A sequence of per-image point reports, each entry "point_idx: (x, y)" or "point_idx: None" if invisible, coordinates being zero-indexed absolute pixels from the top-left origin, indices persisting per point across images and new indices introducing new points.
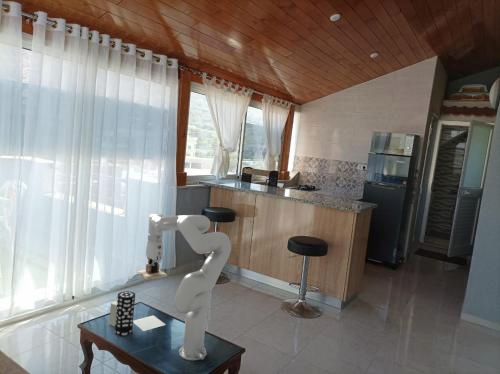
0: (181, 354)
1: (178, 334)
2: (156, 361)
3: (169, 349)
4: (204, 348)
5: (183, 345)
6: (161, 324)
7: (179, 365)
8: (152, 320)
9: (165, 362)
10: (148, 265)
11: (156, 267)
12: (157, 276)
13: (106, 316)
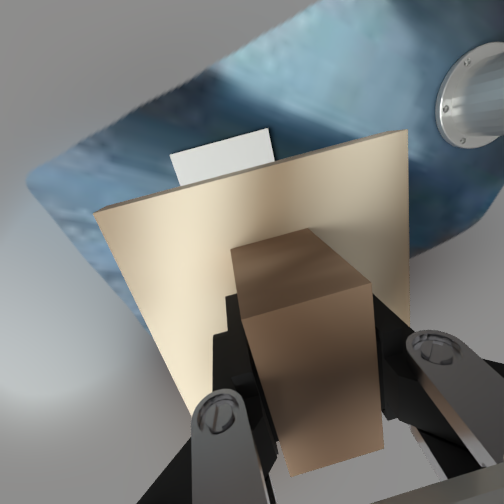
0: (478, 145)
1: (348, 100)
2: (447, 220)
3: (417, 167)
4: (498, 44)
5: (492, 135)
6: (260, 145)
7: (498, 165)
8: (216, 171)
9: (465, 199)
10: (358, 455)
11: (403, 326)
12: (403, 264)
13: (140, 314)
